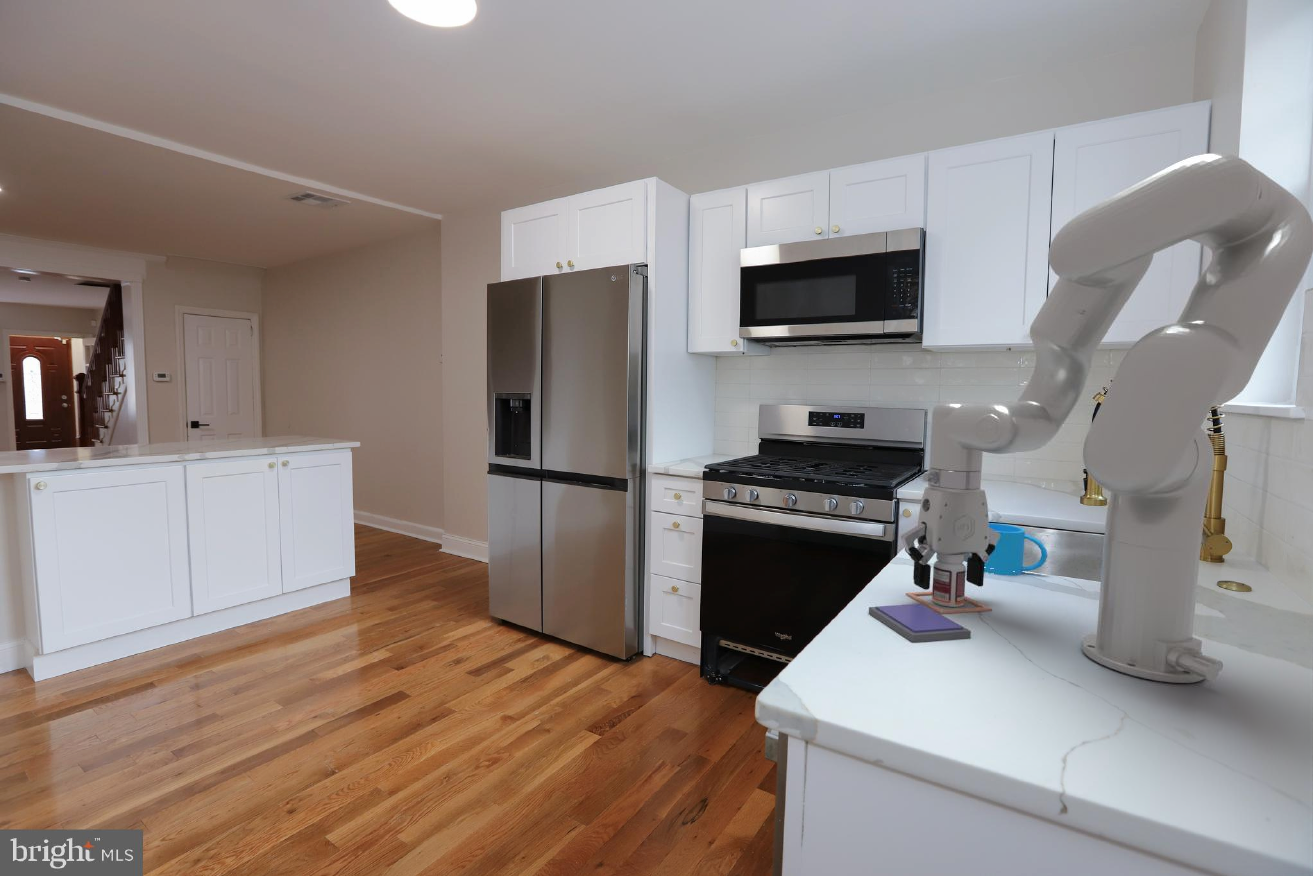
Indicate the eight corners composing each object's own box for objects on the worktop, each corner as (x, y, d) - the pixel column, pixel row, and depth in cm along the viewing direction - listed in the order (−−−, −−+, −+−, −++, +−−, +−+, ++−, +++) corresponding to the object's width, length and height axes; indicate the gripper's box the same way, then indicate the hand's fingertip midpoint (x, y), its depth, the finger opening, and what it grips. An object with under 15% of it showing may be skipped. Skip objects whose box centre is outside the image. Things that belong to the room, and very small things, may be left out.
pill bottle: (957, 598, 104) (960, 548, 103) (968, 608, 99) (971, 556, 98) (927, 597, 104) (930, 547, 103) (937, 607, 99) (940, 554, 99)
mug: (971, 570, 120) (974, 528, 119) (976, 561, 127) (979, 521, 126) (1045, 582, 114) (1048, 537, 113) (1046, 571, 120) (1049, 529, 120)
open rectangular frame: (991, 610, 98) (991, 608, 98) (940, 614, 96) (940, 612, 96) (953, 592, 107) (953, 590, 107) (905, 594, 105) (905, 593, 105)
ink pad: (970, 638, 87) (971, 628, 87) (912, 642, 85) (913, 633, 85) (921, 610, 98) (921, 602, 98) (868, 613, 96) (869, 605, 96)
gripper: (920, 484, 94) (914, 596, 96) (1019, 483, 98) (1012, 590, 99) (891, 477, 102) (886, 581, 103) (984, 476, 105) (978, 576, 107)
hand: (948, 585), depth 101 cm, fingers open, 9 cm apart
